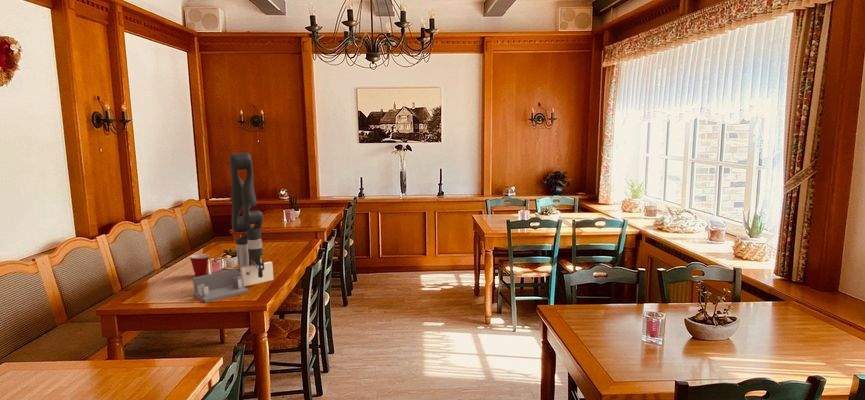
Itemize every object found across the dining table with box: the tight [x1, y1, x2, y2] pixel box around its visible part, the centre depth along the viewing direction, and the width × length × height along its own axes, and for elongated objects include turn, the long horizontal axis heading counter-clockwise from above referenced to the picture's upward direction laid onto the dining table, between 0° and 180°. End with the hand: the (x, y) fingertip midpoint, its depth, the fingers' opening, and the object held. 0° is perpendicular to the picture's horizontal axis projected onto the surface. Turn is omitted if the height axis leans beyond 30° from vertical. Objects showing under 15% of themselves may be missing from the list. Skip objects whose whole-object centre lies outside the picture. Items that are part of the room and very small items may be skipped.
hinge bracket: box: [192, 269, 250, 303], centre depth 268 cm, size 16×22×10 cm
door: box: [240, 261, 275, 287], centre depth 287 cm, size 4×17×10 cm, turn 132°
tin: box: [217, 266, 241, 277], centre depth 289 cm, size 15×3×8 cm, turn 84°
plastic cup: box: [188, 254, 211, 277], centre depth 304 cm, size 11×11×12 cm
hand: (257, 275), depth 287 cm, fingers open, 8 cm apart
